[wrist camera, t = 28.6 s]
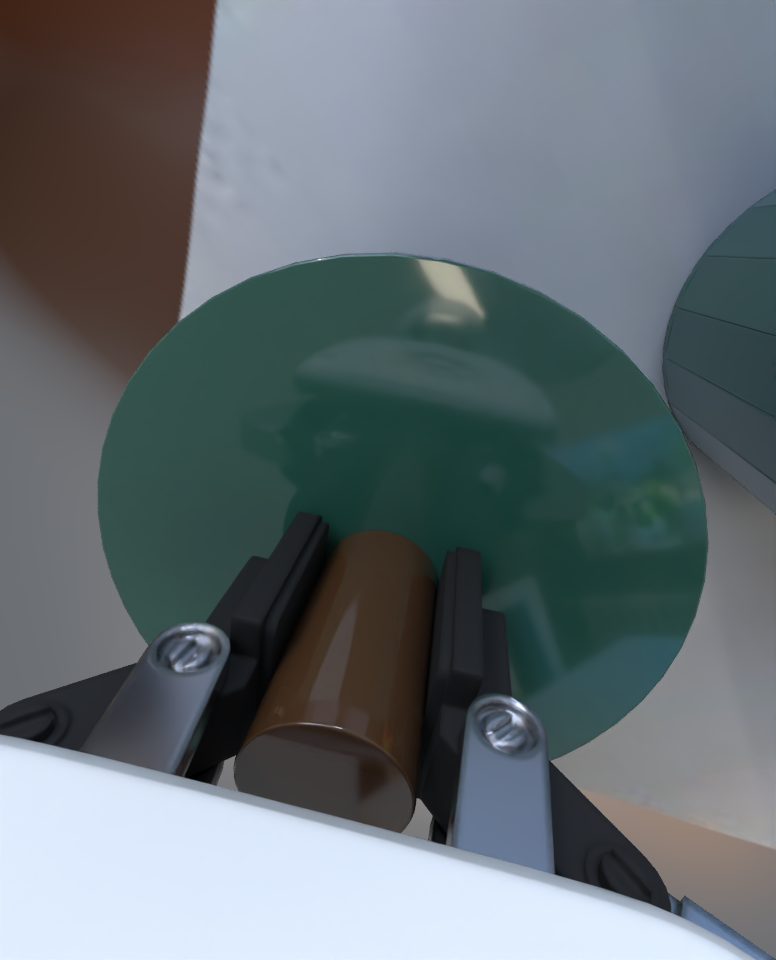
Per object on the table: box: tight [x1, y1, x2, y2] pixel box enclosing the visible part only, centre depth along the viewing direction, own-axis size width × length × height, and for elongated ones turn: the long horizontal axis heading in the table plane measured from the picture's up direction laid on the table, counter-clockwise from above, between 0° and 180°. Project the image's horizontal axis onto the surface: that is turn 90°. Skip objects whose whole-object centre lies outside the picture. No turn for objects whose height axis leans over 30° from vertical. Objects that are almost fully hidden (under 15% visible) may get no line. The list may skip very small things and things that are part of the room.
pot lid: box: [98, 252, 708, 833], centre depth 11 cm, size 15×15×7 cm
